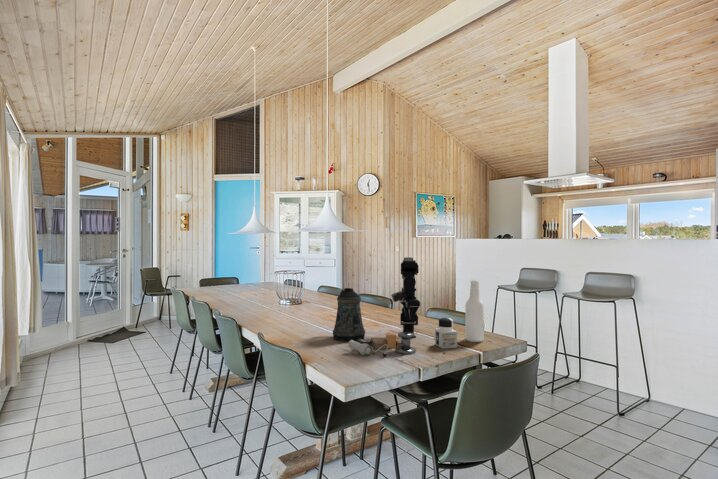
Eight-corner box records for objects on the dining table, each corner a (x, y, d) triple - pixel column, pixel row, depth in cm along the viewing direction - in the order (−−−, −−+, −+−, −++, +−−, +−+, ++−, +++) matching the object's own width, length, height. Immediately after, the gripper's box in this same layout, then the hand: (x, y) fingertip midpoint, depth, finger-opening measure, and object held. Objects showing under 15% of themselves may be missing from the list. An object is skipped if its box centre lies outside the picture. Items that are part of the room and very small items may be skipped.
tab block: (385, 345, 188) (386, 333, 188) (394, 345, 188) (394, 332, 188) (387, 348, 184) (387, 335, 184) (395, 347, 184) (396, 334, 184)
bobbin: (393, 349, 182) (393, 331, 182) (413, 348, 183) (413, 331, 183) (398, 354, 173) (398, 336, 173) (418, 353, 174) (418, 335, 174)
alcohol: (487, 341, 196) (487, 280, 196) (471, 343, 193) (472, 281, 193) (476, 337, 204) (477, 279, 204) (461, 338, 201) (462, 279, 201)
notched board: (371, 342, 193) (371, 337, 193) (403, 341, 195) (403, 336, 195) (374, 348, 182) (374, 343, 182) (409, 347, 184) (409, 342, 184)
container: (442, 348, 183) (442, 320, 183) (434, 344, 190) (434, 317, 190) (457, 347, 185) (457, 319, 185) (449, 343, 192) (449, 316, 192)
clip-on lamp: (391, 359, 176) (356, 345, 184) (394, 346, 176) (360, 332, 184) (380, 364, 166) (344, 349, 174) (383, 349, 165) (347, 335, 174)
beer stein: (351, 344, 190) (351, 291, 190) (321, 337, 202) (321, 288, 202) (371, 337, 204) (371, 288, 204) (342, 332, 215) (342, 285, 215)
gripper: (389, 284, 201) (388, 315, 201) (397, 288, 182) (396, 322, 182) (410, 283, 202) (410, 314, 202) (420, 288, 184) (420, 322, 184)
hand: (409, 318), depth 192 cm, fingers open, 9 cm apart
